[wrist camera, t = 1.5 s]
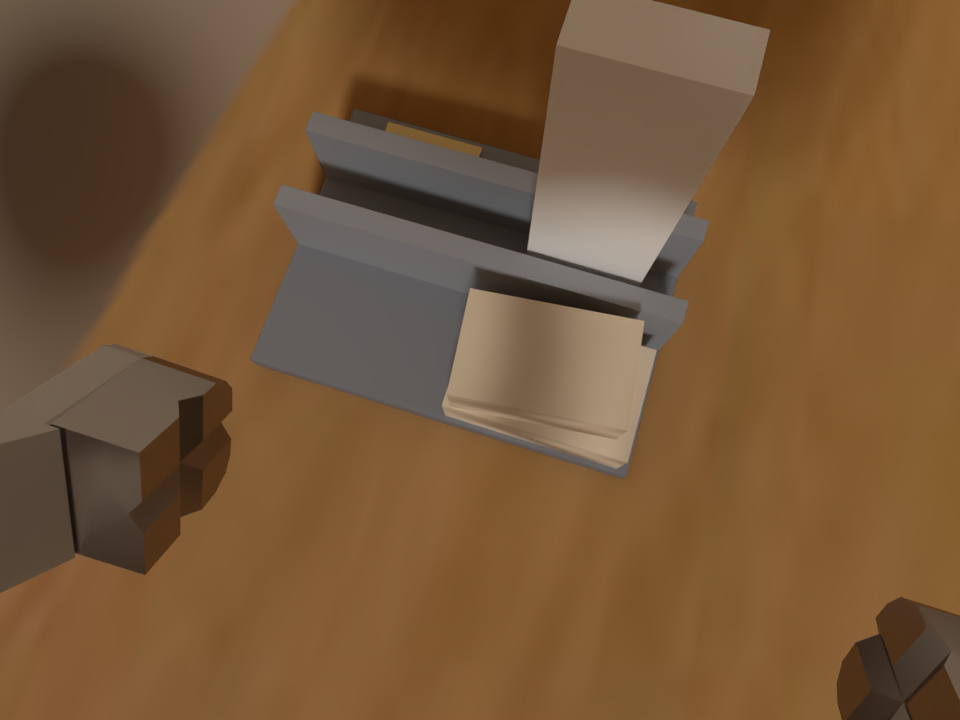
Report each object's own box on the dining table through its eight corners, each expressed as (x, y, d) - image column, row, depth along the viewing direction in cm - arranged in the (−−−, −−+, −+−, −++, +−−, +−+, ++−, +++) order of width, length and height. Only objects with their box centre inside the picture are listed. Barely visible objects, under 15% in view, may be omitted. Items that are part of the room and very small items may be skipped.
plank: (634, 272, 32) (770, 29, 17) (624, 310, 32) (754, 96, 16) (534, 244, 33) (577, -19, 17) (522, 280, 32) (556, 45, 17)
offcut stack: (644, 361, 31) (673, 329, 26) (616, 468, 30) (641, 455, 25) (477, 312, 32) (475, 271, 27) (443, 414, 31) (434, 391, 26)
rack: (690, 212, 34) (724, 158, 29) (621, 478, 31) (647, 467, 26) (357, 120, 36) (337, 55, 31) (257, 364, 32) (217, 334, 28)
